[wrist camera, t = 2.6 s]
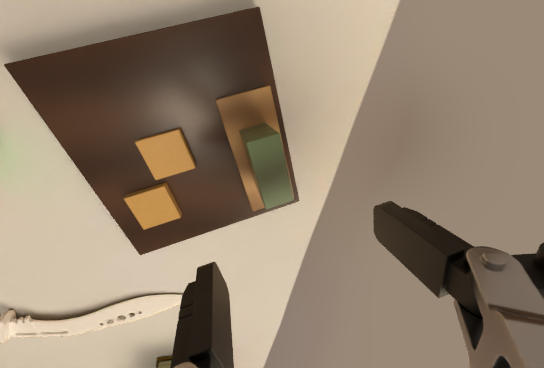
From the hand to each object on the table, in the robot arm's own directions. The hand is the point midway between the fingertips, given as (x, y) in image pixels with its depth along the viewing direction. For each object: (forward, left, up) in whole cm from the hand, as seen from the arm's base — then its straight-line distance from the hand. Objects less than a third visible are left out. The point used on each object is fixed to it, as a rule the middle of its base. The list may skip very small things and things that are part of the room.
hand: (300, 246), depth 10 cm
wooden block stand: (-1, +1, -15) cm, 15 cm away
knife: (+12, -28, -16) cm, 34 cm away
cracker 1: (-3, -8, -15) cm, 17 cm away
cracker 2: (+2, -11, -15) cm, 19 cm away
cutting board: (-3, -6, -16) cm, 17 cm away
